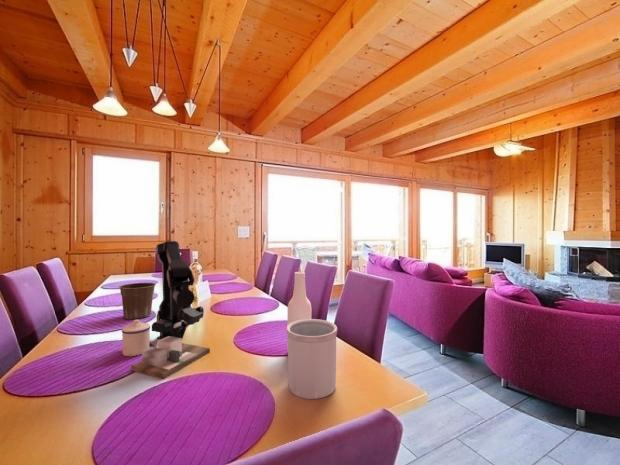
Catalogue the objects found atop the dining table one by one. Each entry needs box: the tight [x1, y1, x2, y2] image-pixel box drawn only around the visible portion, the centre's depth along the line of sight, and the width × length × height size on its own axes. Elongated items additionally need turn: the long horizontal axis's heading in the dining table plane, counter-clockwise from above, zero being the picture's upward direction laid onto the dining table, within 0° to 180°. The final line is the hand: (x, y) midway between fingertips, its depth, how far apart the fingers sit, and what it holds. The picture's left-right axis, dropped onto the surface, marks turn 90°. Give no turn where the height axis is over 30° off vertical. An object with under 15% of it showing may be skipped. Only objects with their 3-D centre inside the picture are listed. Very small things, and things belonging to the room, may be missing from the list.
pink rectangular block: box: [156, 336, 183, 358], centre depth 101 cm, size 10×5×5 cm, turn 69°
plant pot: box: [118, 282, 156, 320], centre depth 150 cm, size 16×16×16 cm
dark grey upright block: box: [169, 350, 179, 362], centre depth 96 cm, size 3×1×3 cm, turn 69°
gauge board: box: [130, 342, 211, 380], centre depth 100 cm, size 14×20×6 cm
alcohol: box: [286, 271, 313, 353], centre depth 107 cm, size 9×9×30 cm
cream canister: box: [121, 319, 151, 357], centre depth 108 cm, size 12×9×12 cm
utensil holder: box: [286, 318, 338, 400], centre depth 85 cm, size 15×15×18 cm
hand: (179, 343), depth 105 cm, fingers closed
